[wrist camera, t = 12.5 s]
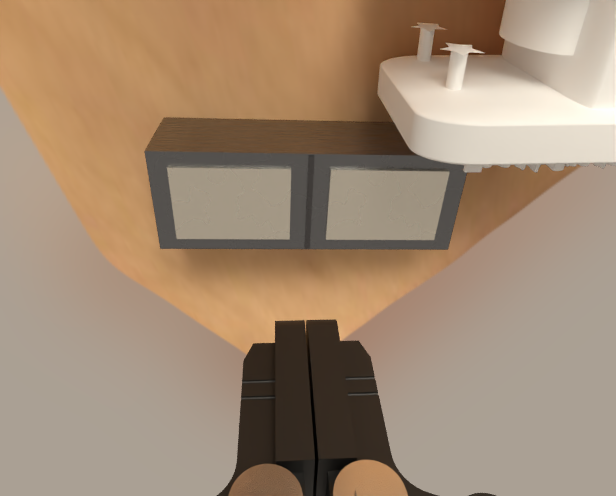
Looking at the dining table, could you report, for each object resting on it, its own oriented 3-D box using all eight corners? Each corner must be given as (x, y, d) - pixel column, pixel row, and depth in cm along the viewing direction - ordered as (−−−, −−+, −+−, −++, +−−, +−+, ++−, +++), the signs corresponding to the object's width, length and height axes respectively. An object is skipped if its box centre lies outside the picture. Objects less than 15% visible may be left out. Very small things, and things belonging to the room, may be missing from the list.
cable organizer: (691, -129, 23) (986, -164, 13) (611, 92, 29) (776, 176, 19) (384, -133, 22) (465, -174, 13) (366, 94, 28) (413, 183, 19)
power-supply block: (163, 117, 28) (143, 152, 24) (443, 123, 29) (472, 158, 25) (175, 206, 32) (159, 250, 27) (426, 208, 33) (448, 251, 29)
